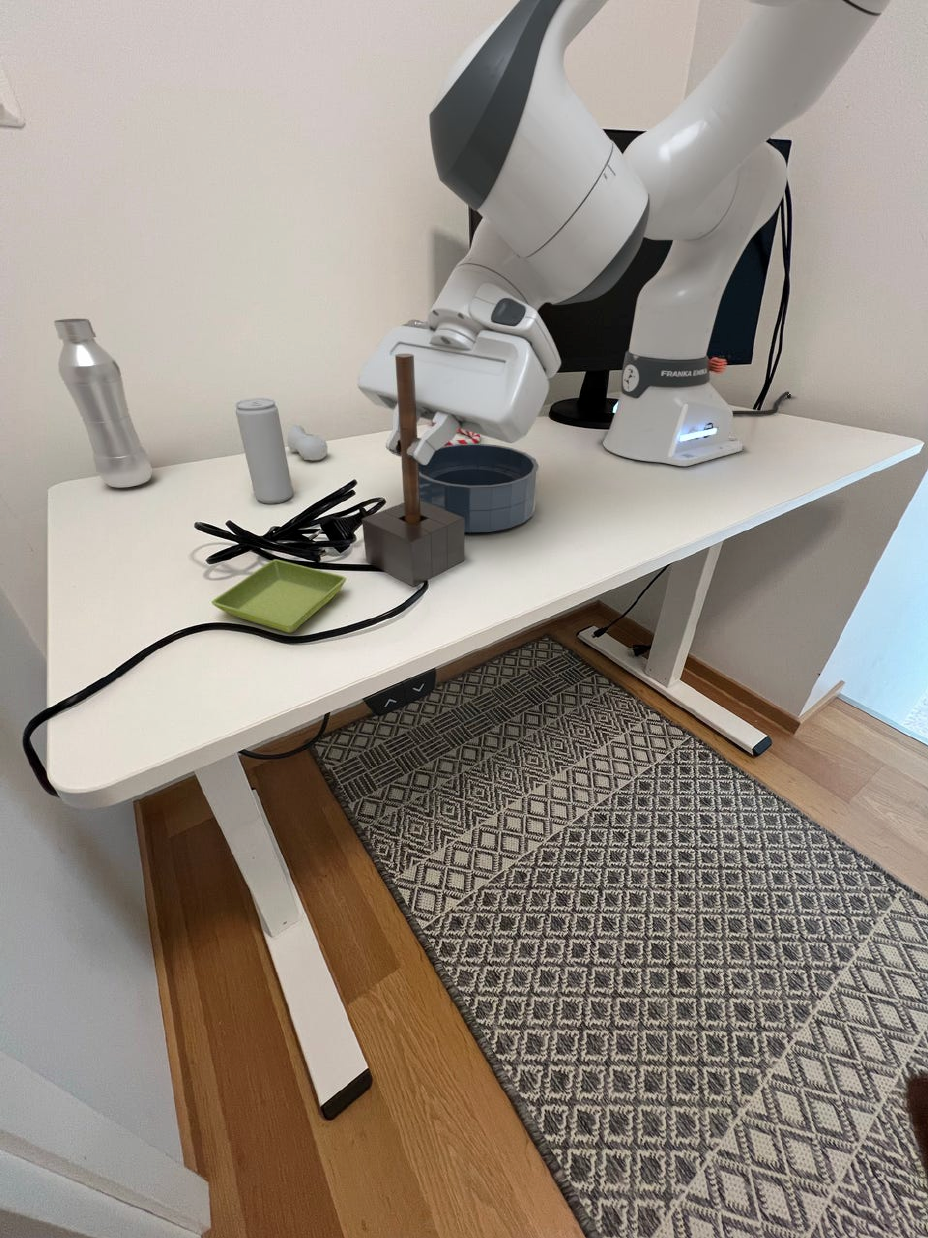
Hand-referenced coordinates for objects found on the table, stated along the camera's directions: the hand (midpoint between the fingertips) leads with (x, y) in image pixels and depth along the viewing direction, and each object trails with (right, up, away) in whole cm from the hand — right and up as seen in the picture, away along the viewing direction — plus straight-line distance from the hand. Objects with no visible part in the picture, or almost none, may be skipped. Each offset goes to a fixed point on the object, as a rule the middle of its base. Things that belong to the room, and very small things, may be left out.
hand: (404, 456), depth 51 cm
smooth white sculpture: (-19, +10, +34) cm, 40 cm away
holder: (0, -9, +7) cm, 11 cm away
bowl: (+7, -1, +18) cm, 19 cm away
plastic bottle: (-41, +3, +24) cm, 47 cm away
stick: (0, -9, +7) cm, 11 cm away
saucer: (-11, -14, 0) cm, 18 cm away
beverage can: (-19, +1, +21) cm, 28 cm away
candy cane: (+3, +16, +43) cm, 46 cm away
